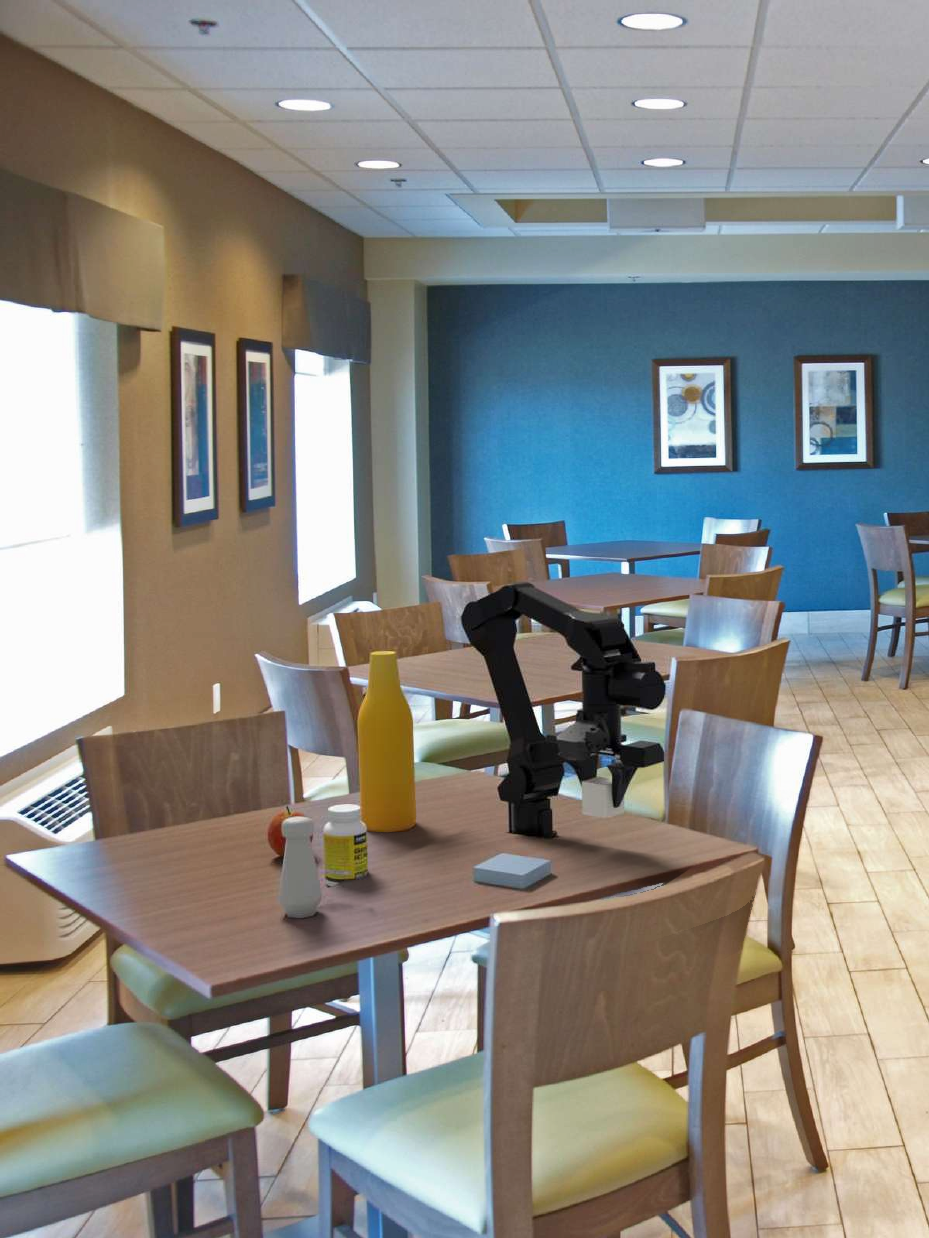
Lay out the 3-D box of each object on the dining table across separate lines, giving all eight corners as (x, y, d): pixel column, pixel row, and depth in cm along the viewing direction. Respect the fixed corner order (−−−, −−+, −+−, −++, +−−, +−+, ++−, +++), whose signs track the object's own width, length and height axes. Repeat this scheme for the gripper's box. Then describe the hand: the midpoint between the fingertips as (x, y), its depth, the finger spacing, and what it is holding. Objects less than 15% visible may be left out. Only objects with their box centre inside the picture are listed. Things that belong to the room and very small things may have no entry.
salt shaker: (280, 907, 187) (276, 813, 186) (322, 905, 188) (319, 811, 186) (278, 921, 181) (274, 824, 180) (322, 918, 182) (318, 822, 180)
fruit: (322, 852, 213) (320, 802, 212) (298, 864, 207) (296, 813, 206) (284, 848, 216) (282, 798, 215) (259, 860, 210) (257, 809, 209)
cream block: (582, 814, 206) (581, 781, 206) (600, 808, 209) (599, 775, 209) (606, 818, 203) (606, 785, 203) (624, 812, 206) (624, 779, 206)
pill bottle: (362, 890, 194) (359, 813, 192) (319, 888, 195) (316, 812, 194) (373, 877, 200) (371, 802, 198) (332, 875, 201) (329, 801, 200)
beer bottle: (427, 822, 230) (422, 650, 227) (395, 835, 222) (389, 657, 219) (382, 816, 235) (376, 647, 232) (349, 828, 227) (343, 655, 224)
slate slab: (473, 881, 192) (473, 867, 192) (502, 866, 199) (501, 853, 199) (523, 889, 188) (523, 875, 188) (551, 874, 195) (550, 860, 194)
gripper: (518, 704, 205) (521, 806, 207) (620, 716, 192) (622, 825, 194) (565, 693, 213) (567, 792, 215) (665, 705, 201) (667, 809, 202)
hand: (603, 804), depth 206 cm, fingers closed on cream block, 4 cm apart
